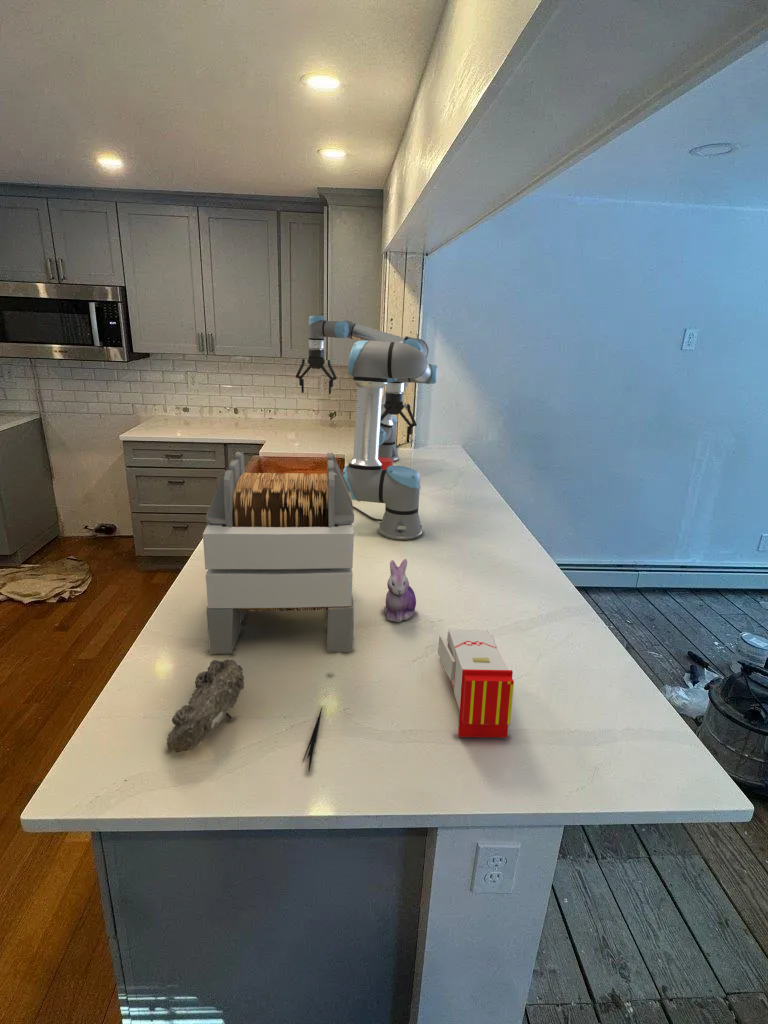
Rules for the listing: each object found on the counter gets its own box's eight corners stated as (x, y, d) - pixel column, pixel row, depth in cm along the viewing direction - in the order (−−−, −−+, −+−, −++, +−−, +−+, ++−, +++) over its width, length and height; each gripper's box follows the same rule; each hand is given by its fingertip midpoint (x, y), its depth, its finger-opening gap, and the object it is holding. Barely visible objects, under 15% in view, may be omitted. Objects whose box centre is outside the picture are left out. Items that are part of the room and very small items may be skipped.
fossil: (192, 660, 117) (244, 628, 112) (224, 691, 120) (276, 661, 115) (142, 746, 98) (202, 712, 93) (182, 779, 101) (242, 748, 96)
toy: (488, 613, 130) (523, 677, 101) (484, 667, 133) (517, 744, 104) (435, 612, 130) (455, 676, 101) (432, 666, 133) (451, 743, 103)
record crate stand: (229, 585, 158) (221, 442, 144) (346, 584, 161) (350, 444, 148) (206, 656, 126) (193, 481, 112) (353, 652, 130) (358, 483, 116)
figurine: (392, 627, 141) (395, 572, 136) (374, 608, 149) (376, 556, 144) (425, 619, 145) (429, 566, 140) (405, 601, 154) (408, 550, 149)
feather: (331, 679, 122) (336, 673, 122) (307, 777, 96) (313, 769, 95) (324, 675, 122) (329, 669, 121) (298, 772, 95) (304, 764, 95)
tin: (372, 481, 259) (373, 457, 255) (387, 480, 262) (388, 456, 258) (378, 486, 252) (379, 462, 249) (394, 484, 255) (395, 461, 251)
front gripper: (422, 391, 244) (419, 439, 252) (364, 390, 242) (363, 438, 249) (425, 394, 237) (421, 444, 245) (365, 393, 235) (364, 443, 243)
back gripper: (289, 348, 273) (290, 393, 280) (341, 350, 273) (340, 395, 280) (292, 347, 280) (292, 390, 287) (342, 349, 280) (341, 393, 287)
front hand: (392, 441), depth 247 cm, fingers open, 13 cm apart
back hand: (316, 393), depth 284 cm, fingers open, 13 cm apart
